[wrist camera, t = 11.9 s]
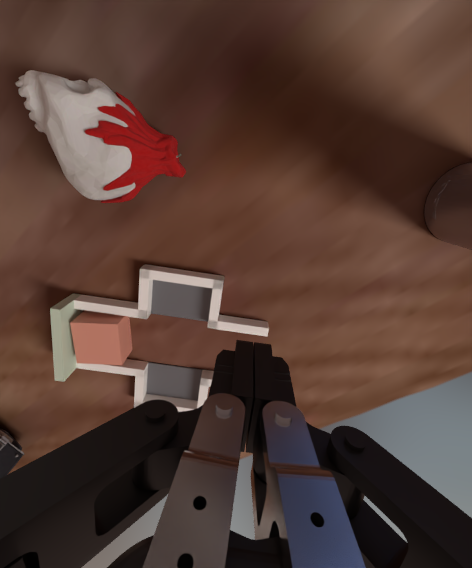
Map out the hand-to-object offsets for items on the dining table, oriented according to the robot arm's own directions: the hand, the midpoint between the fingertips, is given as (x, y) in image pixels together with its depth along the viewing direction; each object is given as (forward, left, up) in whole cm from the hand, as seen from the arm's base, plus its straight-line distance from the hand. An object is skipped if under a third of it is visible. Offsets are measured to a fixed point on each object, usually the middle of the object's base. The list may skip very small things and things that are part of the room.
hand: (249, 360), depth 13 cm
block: (+17, +15, -26) cm, 34 cm away
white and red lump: (+15, -9, -26) cm, 31 cm away
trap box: (+8, +15, -26) cm, 31 cm away
